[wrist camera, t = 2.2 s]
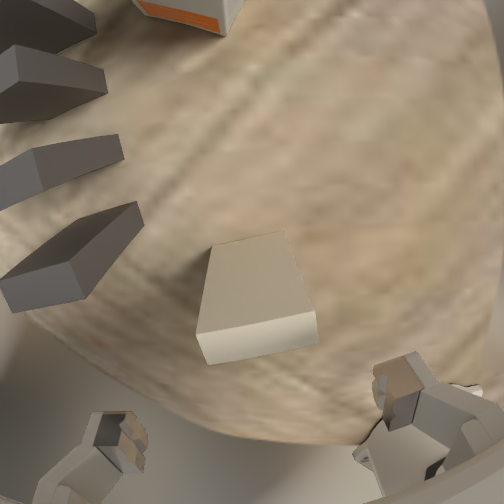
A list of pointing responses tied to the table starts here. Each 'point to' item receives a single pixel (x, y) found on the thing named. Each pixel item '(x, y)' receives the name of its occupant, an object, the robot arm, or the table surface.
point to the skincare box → (194, 12)
